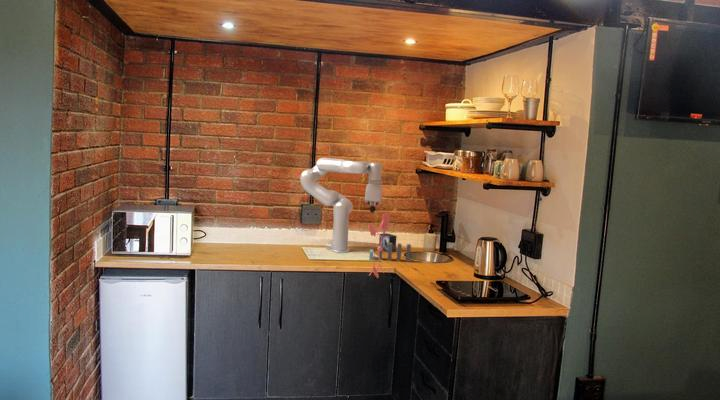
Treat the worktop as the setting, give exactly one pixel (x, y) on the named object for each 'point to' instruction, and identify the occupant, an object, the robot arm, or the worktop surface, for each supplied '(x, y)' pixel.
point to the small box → (388, 241)
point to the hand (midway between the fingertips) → (372, 212)
